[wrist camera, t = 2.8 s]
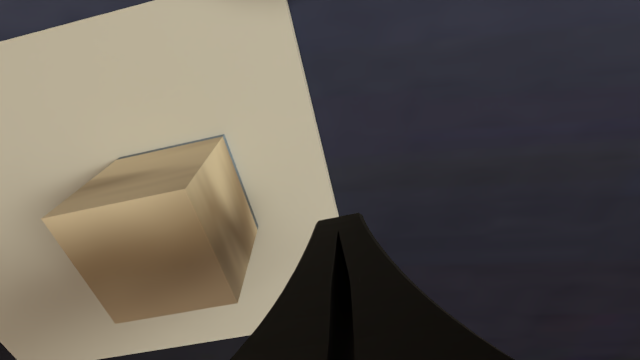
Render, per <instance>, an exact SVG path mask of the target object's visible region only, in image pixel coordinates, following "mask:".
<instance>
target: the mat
mask: <svg viewBox="0 0 640 360" xmlns="http://www.w3.org/2000/svg"><path fill="white" fill-rule="evenodd" d="M223 134H224V135H225V137H226V140H227V143H228V145H229V148H230V151H231V153H232V156H233V159H234V162H235V164H236V167H237V170H238V172H239V175H240V178H241V180H242V183H243V186H244V189H245V191H246V194H247V197H248V199H249V202H250V205H251V207H252V210H253V213H254V216H255V218H256V221H257V224H258V230H257V234H256V237H255V241H254V245H253V249H252V252H251V256H250V260H249V263H248V267H247V271H246V274H245V278H244V282H243V286H242V289H241V293H240V297H239V300H238V303H235V304H230V305H224V306H218V307H212V308H206V309H200V310H194V311H188V312H183V313H177V314H171V315H165V316H159V317H153V318H147V319H141V320H136V321H130V322H124V323H118V324H115V323H114V321H113V320H112V319H111V317H110V316H109V314H108V313H107V311H106V310H105V309H104V307H103V306H102V304H101V303H100V302H99V300H98V299H97V297H96V296H95V294H94V293H93V292H92V290H91V289H90V287H89V286H88V285H87V283H86V282H85V280H84V279H83V277H82V276H81V275H80V273H79V272H78V270H77V269H76V268H75V266H74V265H73V263H72V262H71V260H70V259H69V258H68V256H67V255H66V253H65V252H64V251H63V249H62V248H61V246H60V245H59V244H58V242H57V241H56V239H55V238H54V236H53V235H52V234H51V232H50V231H49V229H48V228H47V227H46V225H45V224H44V222H43V221H42V219H41V218H43V217H44V216H45V215H46V214H48V213H49V212H50V211H52V210H53V209H54V208H55V207H57V206H58V205H59V204H60V203H62V202H63V201H64V200H66V199H67V198H68V197H69V196H71V195H72V194H73V193H75V192H76V191H77V190H78V189H80V188H81V187H82V186H84V185H85V184H86V183H87V182H89V181H90V180H91V179H92V178H94V177H95V176H96V175H98V174H99V173H100V172H101V171H103V170H104V169H105V168H107V167H108V166H109V165H110V164H112V163H113V162H114V161H115V160H117V159H118V158H119V157H123V156H128V155H132V154H137V153H141V152H146V151H150V150H155V149H159V148H164V147H168V146H173V145H177V144H182V143H186V142H191V141H195V140H200V139H205V138H209V137H214V136H218V135H223ZM335 217H339V215H338V211H337V207H336V203H335V199H334V194H333V190H332V186H331V182H330V178H329V173H328V169H327V165H326V161H325V157H324V153H323V148H322V144H321V140H320V136H319V132H318V128H317V123H316V119H315V115H314V111H313V107H312V102H311V98H310V94H309V90H308V86H307V82H306V77H305V73H304V69H303V65H302V61H301V57H300V52H299V48H298V44H297V40H296V36H295V31H294V27H293V23H292V19H291V15H290V11H289V6H288V2H287V0H155V1H151V2H147V3H143V4H140V5H136V6H132V7H128V8H125V9H121V10H117V11H114V12H110V13H106V14H102V15H99V16H95V17H91V18H87V19H84V20H80V21H76V22H72V23H69V24H65V25H61V26H57V27H54V28H50V29H46V30H42V31H39V32H35V33H31V34H27V35H24V36H20V37H16V38H12V39H9V40H5V41H1V42H0V342H1V343H2V344H3V345H4V346H5V348H6V349H7V350H8V351H9V352H10V353H11V354H12V355H13V356H14V357H15V358H16V359H17V360H97V359H103V358H110V357H116V356H122V355H128V354H135V353H141V352H147V351H153V350H160V349H166V348H172V347H178V346H185V345H191V344H197V343H203V342H210V341H216V340H222V339H228V338H235V337H241V336H247V335H251V334H252V333H253V332H254V331H255V329H256V328H257V327H258V326H259V324H260V323H261V322H262V320H263V319H264V318H265V316H266V315H267V313H268V312H269V311H270V309H271V308H272V306H273V305H274V303H275V302H276V300H277V299H278V297H279V296H280V294H281V293H282V291H283V289H284V288H285V286H286V284H287V283H288V281H289V279H290V277H291V276H292V274H293V272H294V271H295V269H296V267H297V265H298V263H299V261H300V259H301V257H302V255H303V253H304V251H305V249H306V247H307V244H308V242H309V240H310V238H311V235H312V233H313V230H314V228H315V225H316V223H317V222H318V221H319V220H324V219H330V218H335Z"/></svg>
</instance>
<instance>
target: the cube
mask: <svg viewBox="0 0 640 360" xmlns="http://www.w3.org/2000/svg"><path fill="white" fill-rule="evenodd" d="M41 219H42V221H43V222H44V224H45V225H46V227H47V228H48V229H49V231H50V232H51V234H52V235H53V236H54V238H55V239H56V241H57V242H58V244H59V245H60V246H61V248H62V249H63V251H64V252H65V253H66V255H67V256H68V258H69V259H70V260H71V262H72V263H73V265H74V266H75V268H76V269H77V270H78V272H79V273H80V275H81V276H82V277H83V279H84V280H85V282H86V283H87V285H88V286H89V287H90V289H91V290H92V292H93V293H94V294H95V296H96V297H97V299H98V300H99V302H100V303H101V304H102V306H103V307H104V309H105V310H106V311H107V313H108V314H109V316H110V317H111V319H112V320H113V321H114V323H115V324H118V323H124V322H130V321H136V320H141V319H147V318H153V317H159V316H165V315H171V314H177V313H183V312H188V311H194V310H200V309H206V308H212V307H218V306H224V305H230V304H235V303H238V300H239V297H240V293H241V289H242V286H243V282H244V278H245V274H246V271H247V267H248V263H249V260H250V256H251V252H252V249H253V245H254V241H255V237H256V234H257V230H258V224H257V221H256V218H255V216H254V213H253V210H252V207H251V205H250V202H249V199H248V197H247V194H246V191H245V189H244V186H243V183H242V180H241V178H240V175H239V172H238V170H237V167H236V164H235V162H234V159H233V156H232V153H231V151H230V148H229V145H228V143H227V140H226V137H225V135H224V134H223V135H218V136H214V137H209V138H205V139H200V140H195V141H191V142H186V143H182V144H177V145H173V146H168V147H164V148H159V149H155V150H150V151H146V152H141V153H137V154H132V155H128V156H123V157H119V158H118V159H117V160H115V161H114V162H113V163H112V164H110V165H109V166H108V167H107V168H105V169H104V170H103V171H101V172H100V173H99V174H98V175H96V176H95V177H94V178H92V179H91V180H90V181H89V182H87V183H86V184H85V185H84V186H82V187H81V188H80V189H78V190H77V191H76V192H75V193H73V194H72V195H71V196H69V197H68V198H67V199H66V200H64V201H63V202H62V203H60V204H59V205H58V206H57V207H55V208H54V209H53V210H52V211H50V212H49V213H48V214H46V215H45V216H44V217H43V218H41Z"/></svg>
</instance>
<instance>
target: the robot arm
mask: <svg viewBox="0 0 640 360" xmlns="http://www.w3.org/2000/svg"><path fill="white" fill-rule="evenodd" d="M230 360H514V359H513V358H511V357H510V356H508V355H506V354H505V353H503V352H502V351H500V350H499V349H497V348H496V347H494V346H493V345H491V344H490V343H488V342H487V341H485V340H484V339H482V338H481V337H479V336H478V335H476V334H475V333H474V332H472V331H471V330H470V329H468V328H467V327H466V326H464V325H463V324H462V323H460V322H459V321H458V320H456V319H455V318H454V317H452V316H451V315H450V314H448V313H447V312H446V311H444V310H443V309H442V308H441V307H440V306H438V305H437V304H436V303H435V302H434V301H433V300H431V299H430V298H429V297H428V296H427V295H426V294H425V293H423V292H422V291H421V290H420V289H419V288H418V287H417V286H416V285H415V284H414V283H413V282H412V281H411V280H410V279H409V278H408V277H407V276H406V275H405V274H404V273H403V272H402V271H401V270H400V269H399V268H398V266H397V265H396V264H395V263H394V262H393V261H392V260H391V258H390V257H389V256H388V255H387V254H386V252H385V251H384V250H383V248H382V247H381V246H380V245H379V243H378V242H377V241H376V239H375V238H374V236H373V235H372V233H371V232H370V230H369V228H368V227H367V225H366V223H365V221H364V218H363V216H362V215H361V214H359V213H356V214H351V215H345V216H340V217H335V218H330V219H324V220H319V221H318V222H317V223H316V225H315V228H314V230H313V233H312V235H311V238H310V240H309V242H308V244H307V247H306V249H305V251H304V253H303V255H302V257H301V259H300V261H299V263H298V265H297V267H296V269H295V271H294V272H293V274H292V276H291V277H290V279H289V281H288V283H287V284H286V286H285V288H284V289H283V291H282V293H281V294H280V296H279V297H278V299H277V300H276V302H275V303H274V305H273V306H272V308H271V309H270V311H269V312H268V313H267V315H266V316H265V318H264V319H263V320H262V322H261V323H260V324H259V326H258V327H257V328H256V329H255V331H254V332H253V333H252V334H251V336H250V337H249V338H248V339H247V341H246V342H245V343H244V344H243V345H242V347H241V348H240V349H239V350H238V351H237V352H236V354H235V355H234V356H233V357H232V358H231V359H230Z"/></svg>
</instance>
